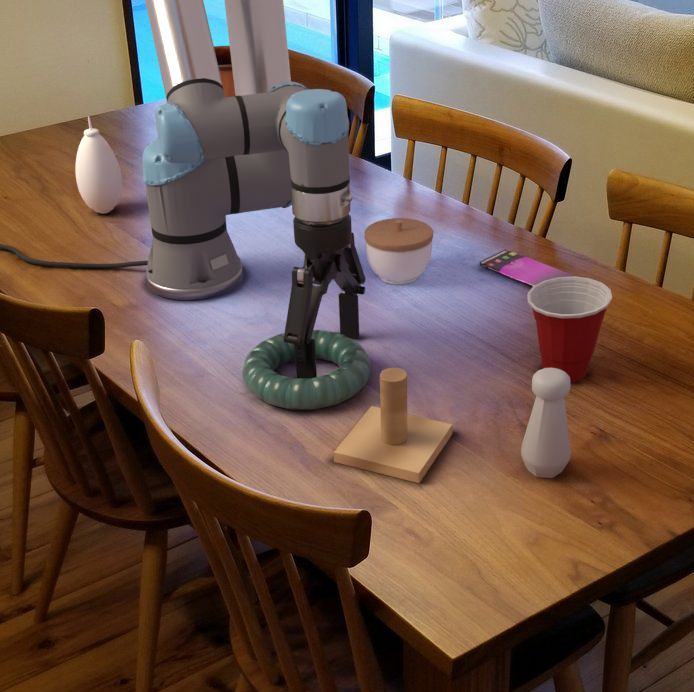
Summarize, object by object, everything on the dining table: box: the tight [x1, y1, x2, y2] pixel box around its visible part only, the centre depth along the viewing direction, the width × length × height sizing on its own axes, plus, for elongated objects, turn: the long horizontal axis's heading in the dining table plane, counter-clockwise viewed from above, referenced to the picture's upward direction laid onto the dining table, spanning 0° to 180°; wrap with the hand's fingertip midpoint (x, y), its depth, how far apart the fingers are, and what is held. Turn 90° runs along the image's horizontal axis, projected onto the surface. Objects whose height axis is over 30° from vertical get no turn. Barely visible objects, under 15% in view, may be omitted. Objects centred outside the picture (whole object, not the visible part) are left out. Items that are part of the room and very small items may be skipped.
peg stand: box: [333, 367, 454, 484], centre depth 128 cm, size 11×11×10 cm
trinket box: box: [364, 217, 434, 286], centre depth 168 cm, size 11×11×9 cm
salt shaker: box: [520, 368, 572, 479], centre depth 123 cm, size 6×6×13 cm
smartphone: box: [478, 248, 578, 287], centre depth 170 cm, size 7×15×1 cm, turn 44°
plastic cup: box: [526, 275, 613, 384], centre depth 141 cm, size 11×11×12 cm
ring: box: [242, 329, 371, 410], centre depth 144 cm, size 17×17×4 cm
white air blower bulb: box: [74, 115, 123, 215], centre depth 193 cm, size 8×8×18 cm
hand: (329, 358), depth 149 cm, fingers open, 13 cm apart
